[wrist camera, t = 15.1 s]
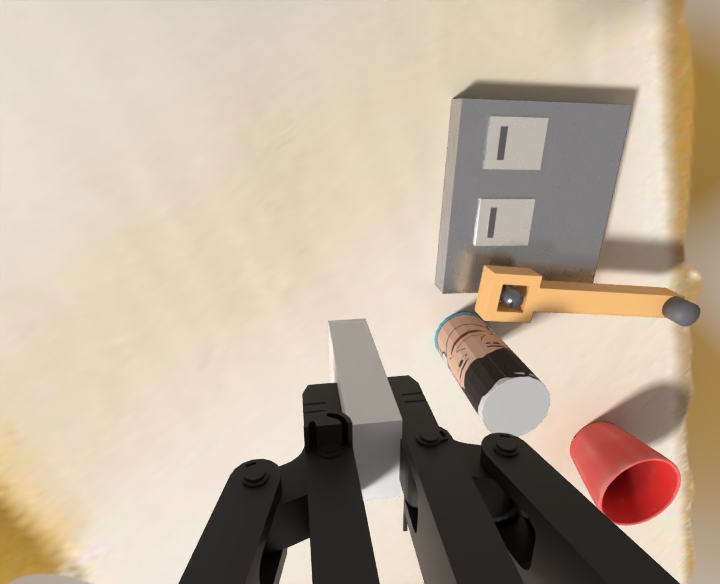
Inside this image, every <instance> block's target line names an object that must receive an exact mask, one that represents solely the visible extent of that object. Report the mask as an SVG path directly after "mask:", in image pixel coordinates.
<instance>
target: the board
mask: <svg viewBox="0 0 720 584" xmlns="http://www.w3.org/2000/svg"><path fill="white" fill-rule="evenodd" d="M631 109H632V105H625V104H598V103H571V102H545V101H518V100H491V99H464V98H461V99H452V103H451V114H450V125H449V136H448V147H447V157H446V168H445V179H444V190H443V201H442V212H441V223H440V234H439V244H438V255H437V266H436V277H435V285H436V286H437V287H438V289H439V290H440V291H441V292H442V293H443V294H447V293H478V291H479V286H480V282H481V277H482V272H483V268H484V265H492V266H507V267H522V268H530V269H532V270H533V271H535V272H536V273H538V274H539V275H541V276H542V280H546V281H562V282H579V283H593V281H594V276H595V272H596V267H597V263H598V258H599V254H600V249H601V245H602V240H603V236H604V231H605V227H606V222H607V217H608V213H609V208H610V204H611V199H612V195H613V190H614V186H615V181H616V177H617V172H618V168H619V163H620V159H621V154H622V150H623V145H624V140H625V136H626V131H627V127H628V122H629V118H630V113H631ZM500 299H501V300H502V301H503V302H504V303H505V304H506V305H507V306H509V307H510V308H512V309H516V308H518V307H520V306H521V305H522V304H523V301H524V297H523V295H522V294H521V293H520V292H518V291H517V290H516V289H515V285H505V284H503V286H502V290H501V294H500Z"/></svg>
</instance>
